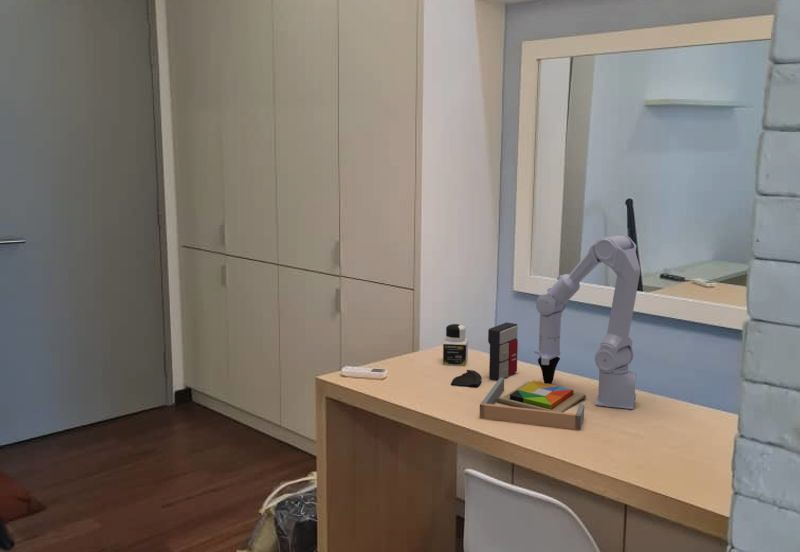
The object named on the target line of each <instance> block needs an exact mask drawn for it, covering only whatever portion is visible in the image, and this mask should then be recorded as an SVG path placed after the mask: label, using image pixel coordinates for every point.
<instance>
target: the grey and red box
mask: <svg viewBox="0 0 800 552" xmlns="http://www.w3.org/2000/svg"><path fill="white" fill-rule="evenodd" d="M487 341H488V342H487V343H488V344H489V368H488V369H489V376H488V378H489V380H493V381H496V382H497V381H498V380H499V378H504V379H505V378H507V377H509V376H511V375H514V374H515V373H517V371H518V349H519V347H518V346H519V345H518V344H519V342H518V341H519V340H518V324H517V323H513V322H504V323H501V324H498V325H495V326H493V327H490V328H488V330H487Z"/></svg>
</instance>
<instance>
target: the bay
mask: <svg viewBox="0 0 800 552" xmlns="http://www.w3.org/2000/svg"><path fill="white" fill-rule="evenodd" d="M504 390H505V378H499V380H498V381H496V382H495V384H494V385H493V386H492V388H491V389H490V390H489V392H488V393H487V394H486V395H485V397H484V398H483V400H482V401H481V402H480V404H479V419H484V420H491V421H500V422H509V423H510V422H511V423H517V424H518V423H519V424H526V425H534V426H542V427H551V428H558V429H559V428H560V429H566V430H567V429H568V430H575V431H581V428H582V425H583V423H584V418H585V404H584V403H583V404H582V403H578V407H577V410H576V412H575V413H572V412H565V411H564V412H555V411H546V410H537V409H529V408H520V407H516V406H512V405H508V406H507V405H501V404H496V402H497V398H499V397H501V395H502V394H503V393H504V392H505V391H504Z"/></svg>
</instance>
